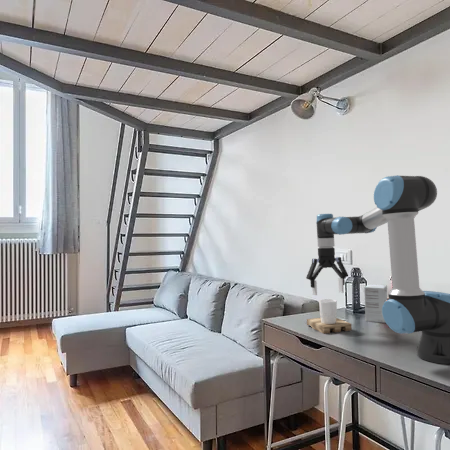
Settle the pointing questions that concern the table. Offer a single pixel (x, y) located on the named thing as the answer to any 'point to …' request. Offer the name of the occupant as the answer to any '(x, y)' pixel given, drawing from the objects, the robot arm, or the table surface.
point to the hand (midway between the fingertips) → (328, 293)
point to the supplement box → (375, 302)
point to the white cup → (328, 311)
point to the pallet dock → (329, 325)
